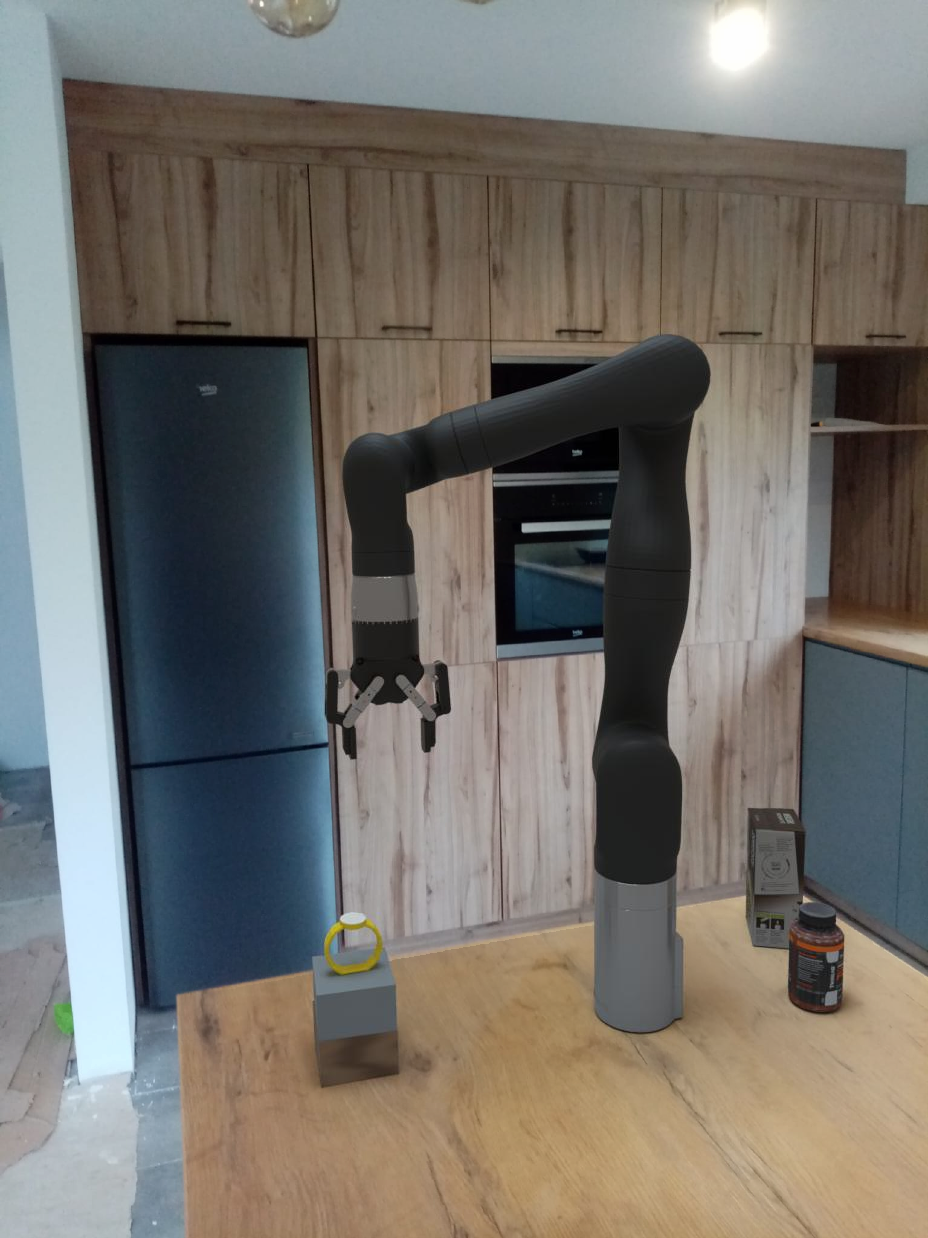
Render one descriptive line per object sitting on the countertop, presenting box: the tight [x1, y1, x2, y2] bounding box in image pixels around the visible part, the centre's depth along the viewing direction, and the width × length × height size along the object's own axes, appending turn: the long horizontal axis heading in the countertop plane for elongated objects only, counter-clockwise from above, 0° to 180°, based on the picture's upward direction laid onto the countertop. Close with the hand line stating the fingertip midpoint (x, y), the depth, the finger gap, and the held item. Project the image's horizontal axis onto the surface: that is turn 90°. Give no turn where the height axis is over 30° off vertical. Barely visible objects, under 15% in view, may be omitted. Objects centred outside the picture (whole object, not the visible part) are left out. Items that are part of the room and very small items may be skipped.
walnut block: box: [312, 1000, 400, 1089], centre depth 94 cm, size 8×8×5 cm
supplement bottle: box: [787, 901, 845, 1013], centre depth 103 cm, size 6×6×11 cm
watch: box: [323, 911, 383, 975], centre depth 93 cm, size 6×3×6 cm, turn 107°
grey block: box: [311, 947, 398, 1042], centre depth 94 cm, size 8×8×5 cm
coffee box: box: [745, 807, 807, 950], centre depth 119 cm, size 9×6×16 cm
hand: (389, 754), depth 102 cm, fingers open, 8 cm apart
